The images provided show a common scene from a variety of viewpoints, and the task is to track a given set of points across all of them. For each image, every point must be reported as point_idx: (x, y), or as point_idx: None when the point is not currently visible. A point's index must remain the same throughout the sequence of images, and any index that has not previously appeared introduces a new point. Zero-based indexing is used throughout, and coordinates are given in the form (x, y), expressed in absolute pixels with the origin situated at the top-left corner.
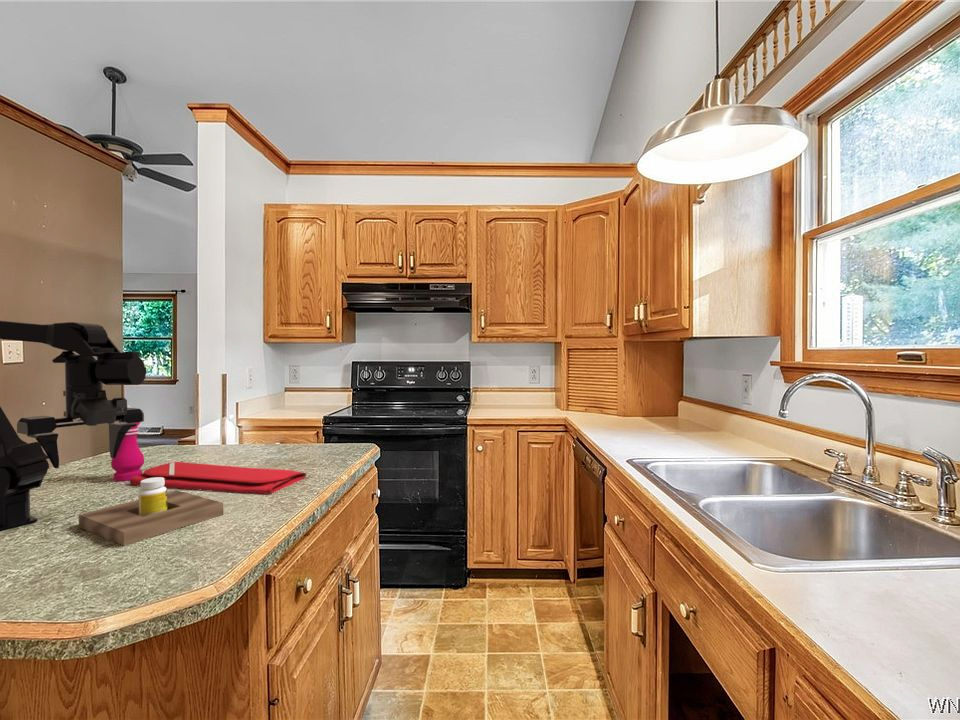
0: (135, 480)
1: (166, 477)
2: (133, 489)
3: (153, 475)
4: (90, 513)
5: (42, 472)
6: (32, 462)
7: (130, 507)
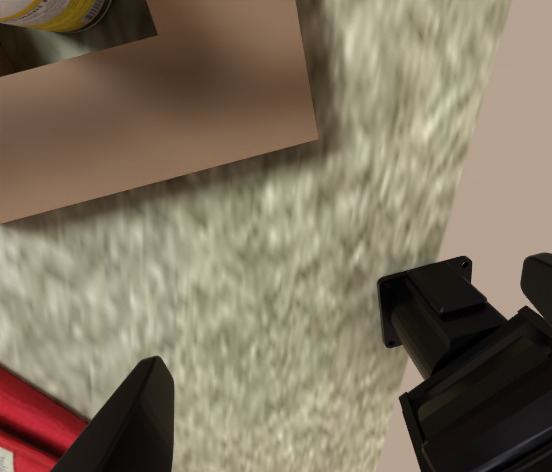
0: None
1: (26, 440)
2: None
3: None
4: (283, 117)
5: (444, 416)
6: (544, 449)
7: (135, 81)
